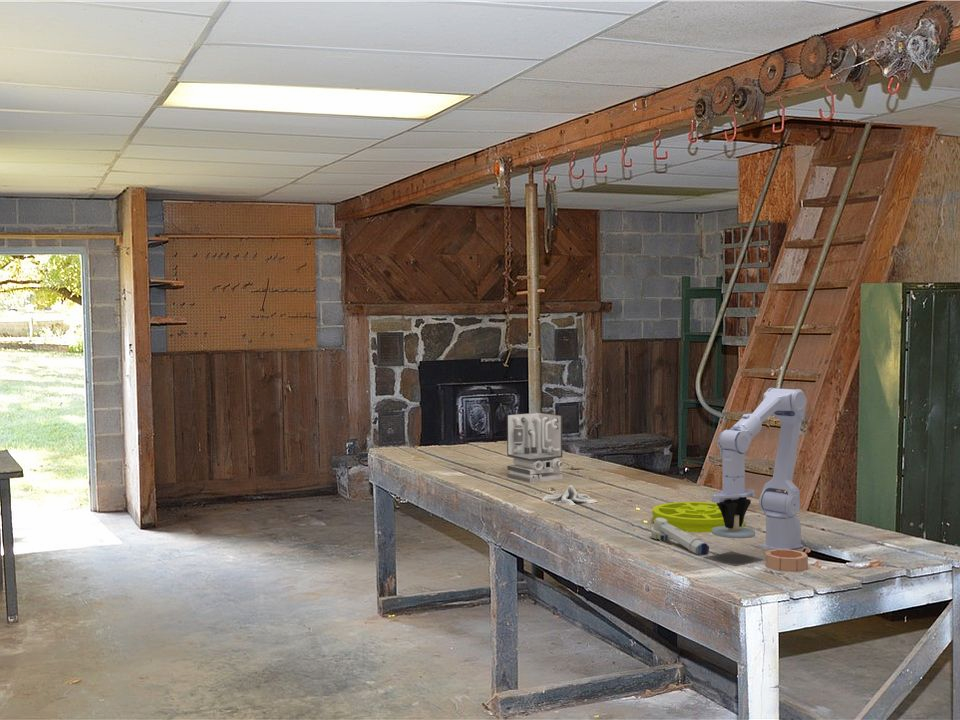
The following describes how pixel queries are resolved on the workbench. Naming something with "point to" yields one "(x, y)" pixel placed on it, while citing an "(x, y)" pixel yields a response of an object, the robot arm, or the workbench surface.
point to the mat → (733, 558)
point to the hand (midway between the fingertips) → (733, 526)
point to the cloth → (569, 497)
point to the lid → (733, 530)
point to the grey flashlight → (678, 536)
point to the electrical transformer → (534, 446)
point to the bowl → (786, 560)
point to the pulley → (691, 515)
